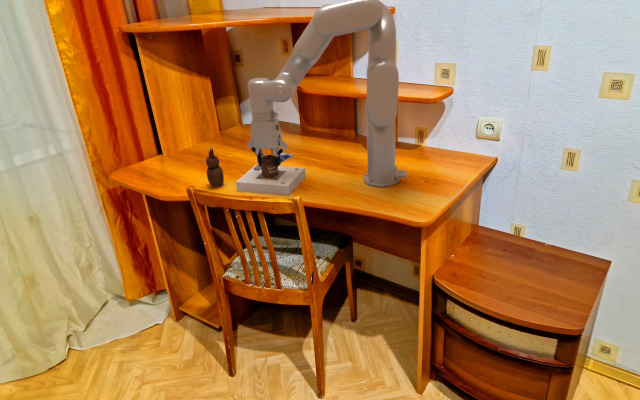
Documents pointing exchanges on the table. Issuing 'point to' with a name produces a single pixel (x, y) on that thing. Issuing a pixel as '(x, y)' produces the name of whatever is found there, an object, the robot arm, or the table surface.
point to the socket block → (271, 181)
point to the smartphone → (285, 156)
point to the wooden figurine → (214, 170)
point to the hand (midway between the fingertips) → (269, 165)
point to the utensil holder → (268, 166)
